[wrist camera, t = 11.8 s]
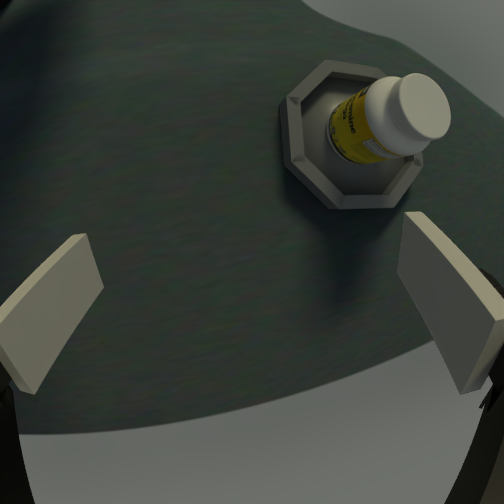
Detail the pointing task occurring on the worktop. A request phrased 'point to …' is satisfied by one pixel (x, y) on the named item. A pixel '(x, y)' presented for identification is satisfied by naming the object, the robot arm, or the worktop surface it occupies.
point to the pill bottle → (389, 120)
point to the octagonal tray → (322, 154)
